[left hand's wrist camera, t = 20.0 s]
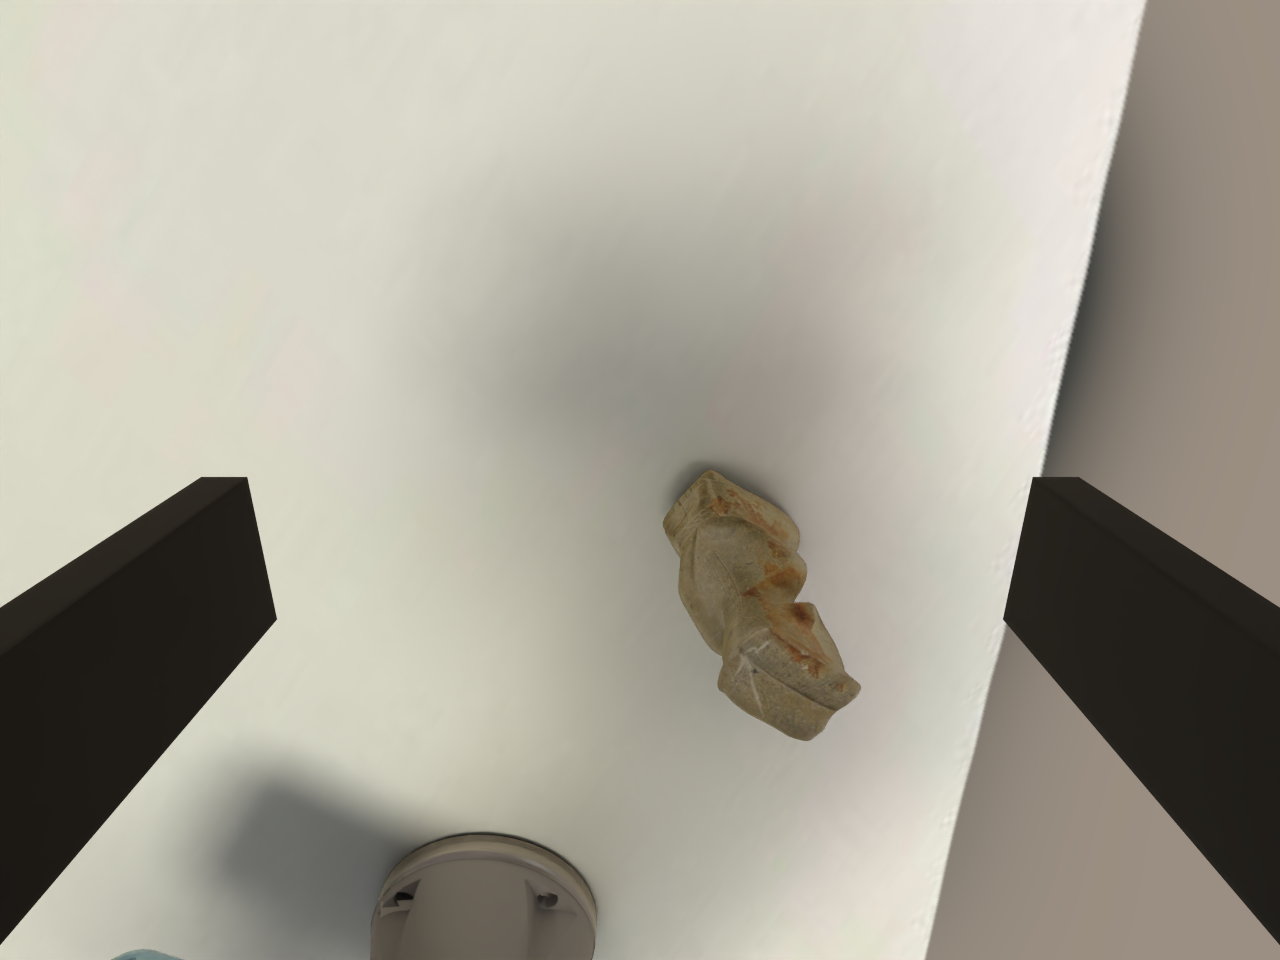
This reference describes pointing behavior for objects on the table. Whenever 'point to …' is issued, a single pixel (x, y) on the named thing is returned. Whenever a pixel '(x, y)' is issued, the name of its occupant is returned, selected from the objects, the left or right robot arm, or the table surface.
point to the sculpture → (756, 607)
